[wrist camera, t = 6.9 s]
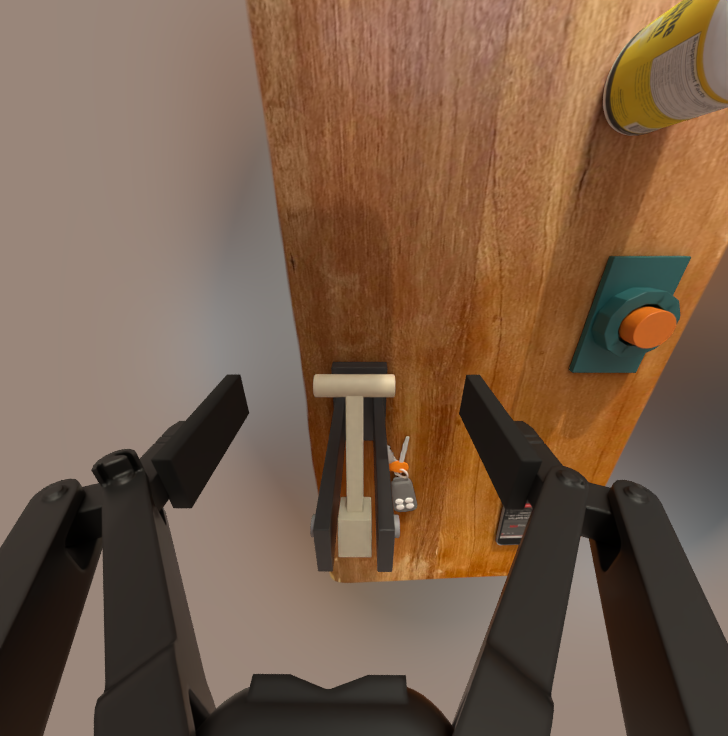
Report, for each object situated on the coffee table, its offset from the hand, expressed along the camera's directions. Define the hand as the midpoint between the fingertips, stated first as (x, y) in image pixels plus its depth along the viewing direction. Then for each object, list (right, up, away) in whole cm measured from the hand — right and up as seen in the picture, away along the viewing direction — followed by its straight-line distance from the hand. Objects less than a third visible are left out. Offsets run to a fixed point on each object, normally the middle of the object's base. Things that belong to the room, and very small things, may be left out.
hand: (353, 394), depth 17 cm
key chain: (+6, -13, +23) cm, 27 cm away
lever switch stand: (0, -2, +17) cm, 17 cm away
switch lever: (0, -5, +3) cm, 6 cm away
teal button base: (+27, +7, +13) cm, 31 cm away
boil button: (+27, +6, +11) cm, 30 cm away
